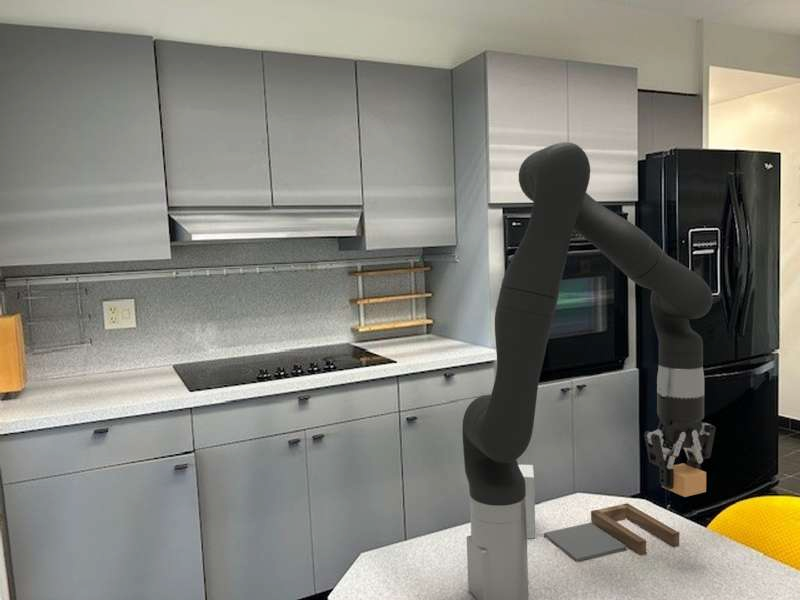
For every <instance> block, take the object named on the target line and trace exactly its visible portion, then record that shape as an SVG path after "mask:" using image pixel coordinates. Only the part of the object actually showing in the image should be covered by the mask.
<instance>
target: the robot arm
mask: <svg viewBox="0 0 800 600" xmlns="http://www.w3.org/2000/svg"><path fill="white" fill-rule="evenodd" d="M518 170H519V172H518V182H519V187H520V188H521V191H522V193H523V195H525V197H526V198H528V199H529V200H530V201H532V202H533V203H532V207H531V212H530V213H531V214H530V219H529V222H528V225H527V228H526V230H525V233H524V235H523V237H522V239H521V241H520V243H519V245H518V247H517V248H516V250H515V252H514V254H513V256H512V258H511V260H510V262H509V264H508V266H507V268H506V270H505V273H504V275H503V279H502V281H501V285H500V289H499V294H498V299H497V303H496V307H495V314H494V336H495V351H496V370H495V371H496V373H495V378H494V383H493V387H492V390H491V394H485V395H481V396H478V397H477V398H475V399H474V400H473V401H471V402H470V403H469V404H468V406H467V408H466V410H465V412H464V415H463V419H462V429H461V430H462V446H463V447H462V448H463V459H464V460H463V463H464V473H465V476H466V480H467V482H468V487H469V506H470V507H469V510H470V513H469V514H470V534H471V535H468V536H466V558H467V559H466V560H467V561H466V562H467V587H468V591H469V592H470V593H471V594H472V596H473V597H474V598H475V599H476V600H528V597H529V567H528V566H529V565H528V563H529V558H528V538H527V519H526V484H525V479H524V476H523V474H522V472H521V470H520V468H519V466H518V465H519V463H518V459H519V458H520V457H521V456H522V455H523V454H524V453H525V452H526V450H527V448H528V446H529V445H530V443H531V439H532V435H533V432H534V431H533V430H534V423H535V415H536V406H537V397H538V392H539V391H538V389H539V383H540V378H541V377H540V376H541V373H542V368H543V364H544V361H545V360H544V359H545V355H546V351H547V350H546V349H547V345H548V342H549V336H550V333H551V329H552V325H553V322H554V317H555V315H556V314H555V313H556V309H557V304H558V299H559V296H560V289H561V283H562V279H563V275H564V272H565V266H566V263H567V258H568V253H569V248H570V243H571V239H572V236H573V231H575V232H577V233H578V234H579V235H580V236H581V237H583V238H584V239H586V240H587V241H588V242H589V243H590V244H592V245H593V246H594V247H595V248H596V249H597V250H598V251H599V252H601V253H602V254H603V255H604V256H605V257H606V258H607V259H608V260H610V262H611V263H613V264H614V265H615V266H616V267H617V268H618V269H619V270H620V271H621V272H622V273H623V274H624V275H625V276H626V277H628V279H630V280H631V281H632V282H634V283H635V284H636V285H638V286H640V287H642V288H646V289H648V290H651V295H650V301H649V302H650V310H651V311H650V312H651V315H652V319H653V325H654V329H655V332H656V336H657V339H658V371H657V377H656V384H657V385H656V387H657V388H656V395H657V396H656V407H657V408H656V413H657V416H658V418H659V424H658V426H657V429H655V430H653V431H648V430H646V431H645V432H644V434H643V436H644V437H643V438H644V441H645V446H646V450H647V456H648V461H649V463H651V464H653V465H656V466H658V467H659V484H661V487H662V486H663V487H665V488H667V489H666V490H668V489H673V485H674V469H673V468H672V467H673V465H675V464H674V463H675V459H676V458H677V457H679V455H680V452H681V450H682V449H683V450H684V452H685V455H686V457H687V460H686V465H689V466H691V467H694V468H696V469H699V470H702V469H701V467H702V465H701V464H702V463H703V462H704V459H710V458H711V456H712V453H713V445H714V440H715V435H716V431H717V430H716V429H717V427H716V426H715V425H712V424H711V423H707V422H704V421H702V420H703V419H704V418H705V374H704V367H703V366H704V342H703V341H704V340H703V338H702V336H701V335H700V334H699V333H697V332H696V331H695V330H693V329H692V327H691V325H690V320H697V319H700V318H702V317H704V316H705V315H707V314H708V313H709V312H710V310H711V309H712V306H713V303H714V298H713V292H712V290H711V288H710V286H709V285H708V283H707V282H706V281H705V280H704V279H703V278H702V277H701V276H700V275H698V274H697V273H696V272H694V271H693V270H691V269H690V268H688V267H687V266H685V265H684V264H682V263H681V262H679V261H677V260H676V259H674V258H672V257H671V256H669V255H668V254H667V253H666V252H665V251H664V250H663V249H662V248H661V247H660V246H659V245H658V244H657V243H656V242H655V241H654V240H653V239H652V238H651V237H650V236H649V235H647V233H646V232H644V231H643V230H642V229H640V228H639V227H638V226H636V224H634V223H633V222H630V221H629V220H627V219H625V218H624V217H623V216H621V215H619V214H617V213H615V212H613V211H612V210H610V209H609V208H607V207H605V206H604V205H602V204H600V202H598V201H596V200H595V199H594V198H593V197H592V196H591V195H590V194H588V193H587V190H588V187H589V183H590V179H591V164H590V161H589V157H588V155H587V154H586V152H585V151H584V149H582V147H580V146H579V145H578V144H577V143H576V144H575V143H573V142H566V141H565V142H559V143H553V144H551V145H549V146H546V147H544V148H541V149H540V150H537V151H535V152H533V153H532V154H530V155H528V156H527V157H526V158H525V159H524V160H523V161H522V163H521V164H520V167H519V169H518ZM668 447H669V448H668ZM670 448H671V449H670ZM663 487H662V488H663ZM665 488H664V489H665Z"/></svg>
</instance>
